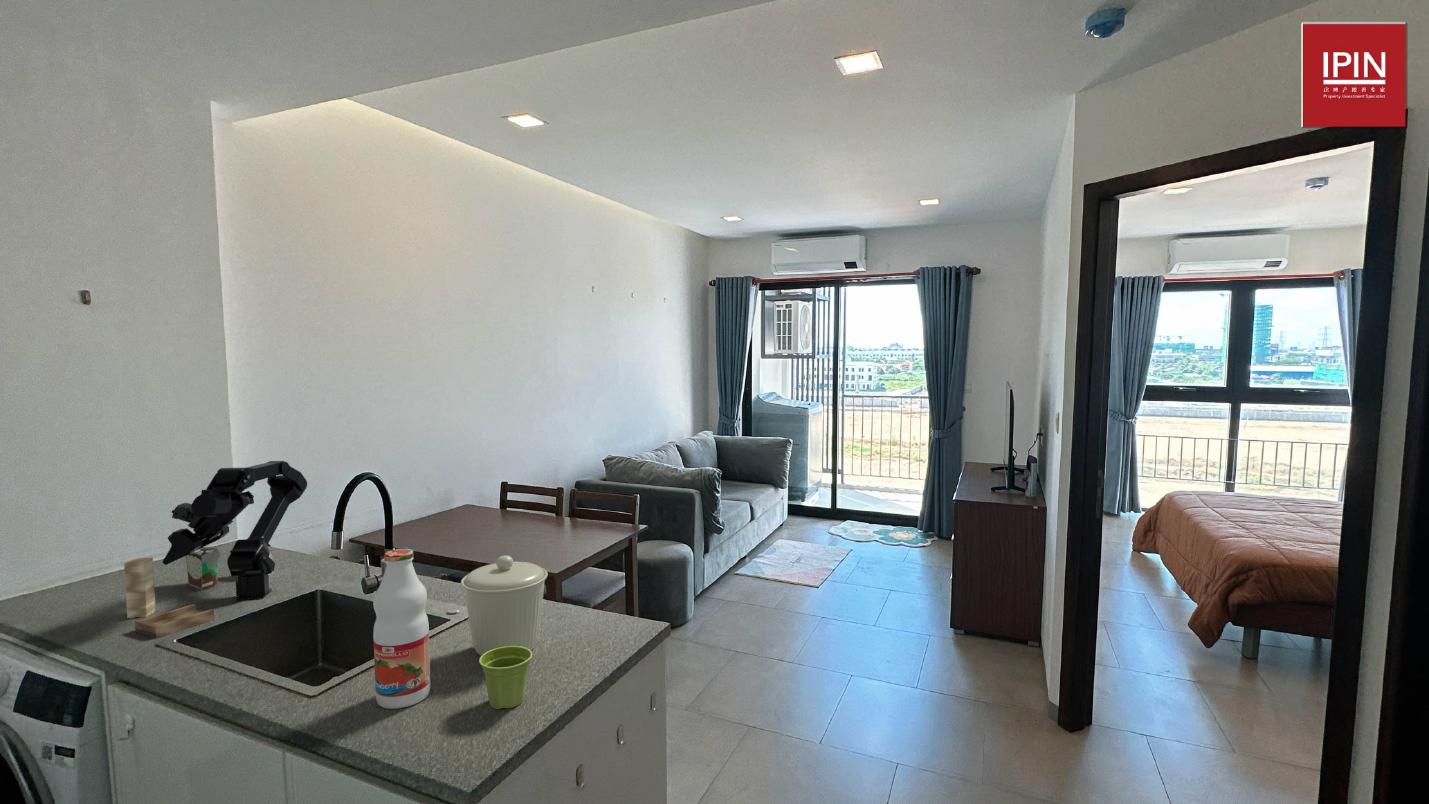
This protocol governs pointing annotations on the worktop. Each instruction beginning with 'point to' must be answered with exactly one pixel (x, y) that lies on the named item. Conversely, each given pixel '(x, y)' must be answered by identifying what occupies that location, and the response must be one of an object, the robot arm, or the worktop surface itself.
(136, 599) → the birch peg
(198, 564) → the food container
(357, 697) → the worktop surface
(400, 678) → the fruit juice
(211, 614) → the walnut rack
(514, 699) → the plant pot
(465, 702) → the worktop surface
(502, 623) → the canister
